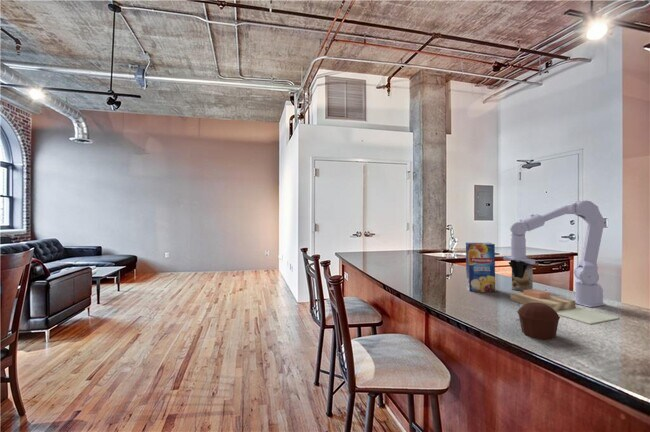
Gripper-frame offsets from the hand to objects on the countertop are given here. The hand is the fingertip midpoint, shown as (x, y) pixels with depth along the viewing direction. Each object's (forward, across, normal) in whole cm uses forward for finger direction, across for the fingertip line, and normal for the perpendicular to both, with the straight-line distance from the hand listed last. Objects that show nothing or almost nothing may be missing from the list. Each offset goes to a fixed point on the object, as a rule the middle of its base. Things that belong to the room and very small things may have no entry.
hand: (518, 277), depth 141 cm
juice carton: (+10, -18, -5) cm, 21 cm away
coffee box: (+10, -10, +15) cm, 21 cm away
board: (+9, +10, 0) cm, 14 cm away
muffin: (+10, +34, -33) cm, 48 cm away
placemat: (+9, +27, 0) cm, 29 cm away
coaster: (+6, +8, 0) cm, 11 cm away
